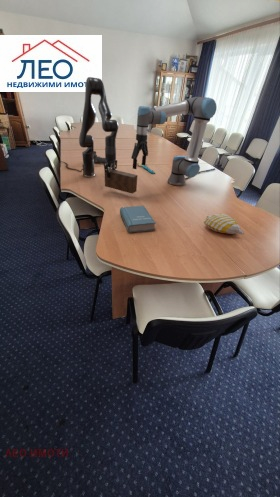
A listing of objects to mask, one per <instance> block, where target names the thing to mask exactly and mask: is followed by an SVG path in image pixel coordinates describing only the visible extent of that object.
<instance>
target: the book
mask: <svg viewBox="0 0 280 497" xmlns="http://www.w3.org/2000/svg"><path fill="white" fill-rule="evenodd" d="M119 214H120V217H121V219H122V221H123V223H124V226H125V227H126V230H127V232H128V233H141V232H151V231H155V230H156V229H155V224H156V221H155V220H154V218H153V217H152V215H151V214H150V212H149V211H148V209H147V207H146V206H145V205H135V206H134V205H133V206H124V207H123V206H122V207H120V208H119Z"/></svg>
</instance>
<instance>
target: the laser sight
mask: <svg viewBox="0 0 280 497" xmlns="http://www.w3.org/2000/svg"><path fill="white" fill-rule="evenodd" d="M93 157H94V164H103V165H104V164H106V162H107V160H106V159H105V157H101V156H98V154H97V151H96V150H94V153H93Z"/></svg>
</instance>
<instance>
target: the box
mask: <svg viewBox="0 0 280 497" xmlns="http://www.w3.org/2000/svg"><path fill="white" fill-rule="evenodd" d="M108 171H109V169H108ZM104 187H106V188H110V189H114V190H117V191H120V192H124V193H128V194H131V195H133V194H134V193H136V192H138V191H137V187H138V175H137V174H134V173H130V172H126V171H122V170H118V169H115V170H114V169H112V168H111V170H110V178H108V177H107V172H105V171H104Z"/></svg>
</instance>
